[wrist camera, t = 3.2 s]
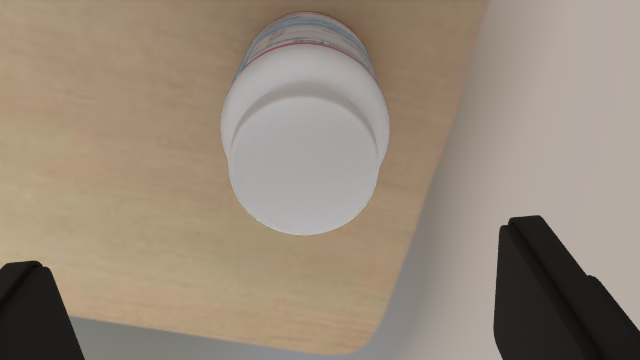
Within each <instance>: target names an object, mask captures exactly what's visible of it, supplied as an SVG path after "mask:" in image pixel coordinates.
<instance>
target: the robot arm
mask: <svg viewBox="0 0 640 360" xmlns="http://www.w3.org/2000/svg"><path fill="white" fill-rule="evenodd" d="M494 337H495V342H496V345H497V347H498V350H499V352H500V354H501V357H502V359H503V360H640V331H639V330H638V329H637V327H636V326H635V325H634V324H633V322H632V321H631V320H630V319H629V317H628V316H627V315H626V313H625V312H624V311H623V310H622V309H621V307H620V306H619V305H618V304H617V302H616V301H615V300H614V299H613V297H612V296H611V295H610V293H609V292H608V291H607V290H606V288H605V287H604V286H603V285H602V283H601V282H600V281H599V280H598V279H597V278H596V277H593V276H591V275H588V276H587V275H586V274H585V272H584V271H583V270H582V269H581V267H580V266H579V265H578V263H577V262H576V261H575V259H574V258H573V257H572V256H571V254H570V253H569V252H568V251H567V249H566V248H565V246H564V245H563V244H562V242H561V241H560V240H559V239H558V237H557V236H556V235H555V233H554V232H553V231H552V230H551V228H550V227H549V226H548V224H547V223H546V222H545V220H544V219H543V218H542V217H541V216H538V215H536V216H525V217H514V218H510V220H509V222H508V225H503V226H501V227H500V231H499V245H498V262H497V278H496V294H495V310H494ZM0 360H85V359H84V356H83V354H82V351H81V348H80V346H79V343H78V340H77V338H76V335H75V333H74V330H73V327H72V325H71V322H70V320H69V317H68V314H67V311H66V309H65V306H64V304H63V301H62V298H61V296H60V293H59V290H58V288H57V285H56V283H55V280H54V277H53V275H52V272H51V270H50V269H49V268H48V267H43V266H42V264H41V263H40V262H38V261H25V262H14V263H7V264H6V265H4V266H3V267H2V268H1V269H0Z"/></svg>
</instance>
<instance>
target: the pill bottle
mask: <svg viewBox="0 0 640 360" xmlns="http://www.w3.org/2000/svg"><path fill="white" fill-rule="evenodd" d="M389 136H390V122H389V115H388V110H387V106H386V102H385V99H384V96H383V94H382V91H381V88H380V86H379V83H378V81H377V78H376V75H375V72H374V69H373V67H372V64H371V61H370V58H369V55H368V53H367V51H366V49H365V47H364V45H363V44H362V42H361V41H360V39H359V38H358V37H357V36H356V35H355V33H354V32H353V31H352V30H350V29H349V28H348V27H347V26H345V25H344V24H342V23H341V22H339V21H337V20H335V19H333V18H331V17H329V16H326V15H323V14H319V13H313V12H298V13H292V14H288V15H285V16H283V17H280V18H278V19H276V20H274V21H273V22H271V23H270V24H269V25H267V26H266V27H265V28H264V29H263V30H262V31H261V32H260V33H259V34H258V35H257V36H256V38H255V39H254V41H253V43H252V44H251V46H250V48H249V50H248V52H247V54H246V56H245V58H244V60H243V62H242V64H241V66H240V68H239V70H238V72H237V74H236V77H235V79H234V81H233V83H232V85H231V87H230V89H229V91H228V94H227V97H226V99H225V102H224V106H223V109H222V115H221V138H222V144H223V148H224V151H225V154H226V157H227V159H228V169H229V177H230V182H231V185H232V188H233V190H234V192H235V195H236V197H237V198H238V200H239V202H240V203H241V204H242V206H243V207H244V209H245V210H246V211H247V212H248V213H249V214H250V215H252V216H253V217H254V218H255V219H256V220H258V221H259V222H261V223H262V224H264V225H265V226H268V227H270V228H272V229H274V230H277V231H280V232H283V233H288V234H293V235H314V234H320V233H325V232H328V231H331V230H334V229H336V228H338V227H340V226H342V225H344V224H346V223H347V222H349V221H350V220H352V219H353V218H354V217H355V216H356V215H357V214H359V213H360V212H361V211H362V209H363V208H364V207H365V206H366V204H367V203H368V201H369V200H370V198H371V196H372V194H373V192H374V189H375V187H376V183H377V179H378V174H379V167H380V166H381V164H382V162H383V160H384V157H385V155H386V151H387V148H388V143H389Z"/></svg>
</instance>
